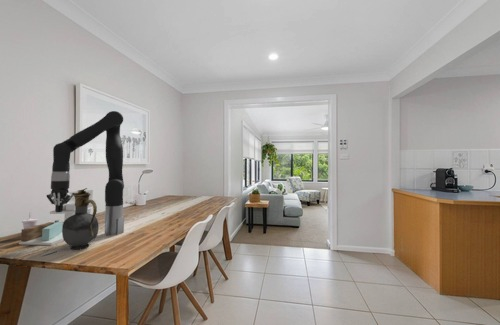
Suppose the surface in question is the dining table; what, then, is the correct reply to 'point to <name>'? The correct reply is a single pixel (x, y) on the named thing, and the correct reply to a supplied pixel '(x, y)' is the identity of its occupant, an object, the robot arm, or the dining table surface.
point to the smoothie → (29, 222)
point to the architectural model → (73, 206)
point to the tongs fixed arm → (33, 231)
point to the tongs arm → (52, 230)
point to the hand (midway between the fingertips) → (58, 212)
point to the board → (44, 241)
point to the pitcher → (81, 223)
